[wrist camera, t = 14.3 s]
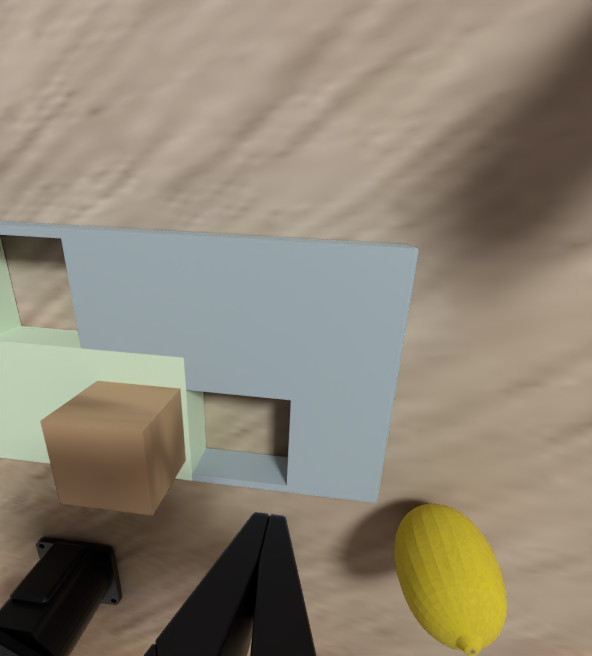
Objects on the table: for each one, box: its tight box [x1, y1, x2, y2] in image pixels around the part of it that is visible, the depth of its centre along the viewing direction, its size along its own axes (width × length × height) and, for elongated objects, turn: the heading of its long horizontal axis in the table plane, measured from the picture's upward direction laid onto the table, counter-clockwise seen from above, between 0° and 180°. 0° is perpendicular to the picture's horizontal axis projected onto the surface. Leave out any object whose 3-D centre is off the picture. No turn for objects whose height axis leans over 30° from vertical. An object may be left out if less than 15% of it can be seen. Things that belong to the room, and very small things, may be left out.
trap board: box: [0, 221, 419, 503], centre depth 20 cm, size 15×27×3 cm, turn 87°
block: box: [40, 381, 186, 516], centre depth 18 cm, size 5×5×4 cm
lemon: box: [394, 504, 507, 655], centre depth 19 cm, size 6×6×8 cm
